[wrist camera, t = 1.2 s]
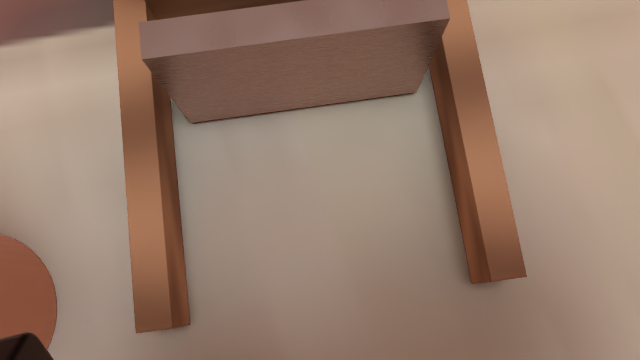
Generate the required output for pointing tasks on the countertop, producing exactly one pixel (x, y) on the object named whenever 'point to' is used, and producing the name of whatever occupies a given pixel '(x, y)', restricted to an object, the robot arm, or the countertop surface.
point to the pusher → (292, 54)
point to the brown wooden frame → (161, 176)
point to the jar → (25, 293)
